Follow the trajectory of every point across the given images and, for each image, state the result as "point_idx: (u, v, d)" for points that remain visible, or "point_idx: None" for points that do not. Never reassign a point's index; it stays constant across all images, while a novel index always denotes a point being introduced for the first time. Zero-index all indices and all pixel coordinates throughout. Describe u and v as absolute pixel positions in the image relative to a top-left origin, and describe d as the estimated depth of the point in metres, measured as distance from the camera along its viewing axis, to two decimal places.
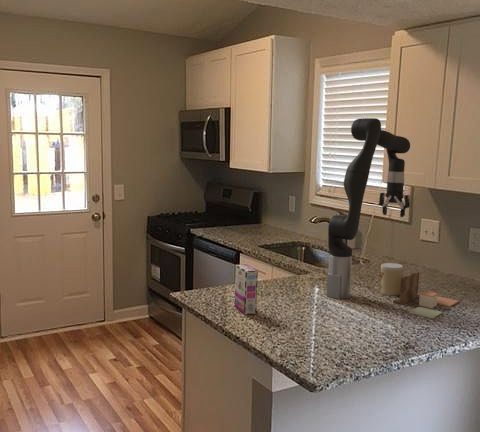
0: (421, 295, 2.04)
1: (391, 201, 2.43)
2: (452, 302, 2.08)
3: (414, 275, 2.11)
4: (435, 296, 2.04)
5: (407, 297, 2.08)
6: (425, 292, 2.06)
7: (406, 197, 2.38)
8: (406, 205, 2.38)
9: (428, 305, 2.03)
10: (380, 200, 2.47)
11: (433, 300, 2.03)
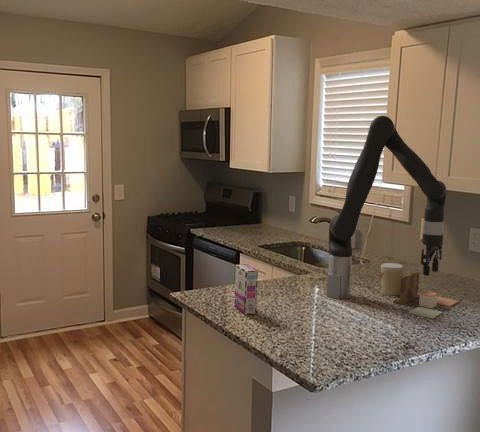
0: (421, 295, 2.04)
1: None
2: (452, 302, 2.08)
3: (414, 275, 2.11)
4: (435, 296, 2.04)
5: (407, 297, 2.08)
6: (425, 292, 2.06)
7: (441, 248, 2.07)
8: (441, 256, 2.07)
9: (428, 305, 2.03)
10: (427, 259, 1.98)
11: (433, 300, 2.03)
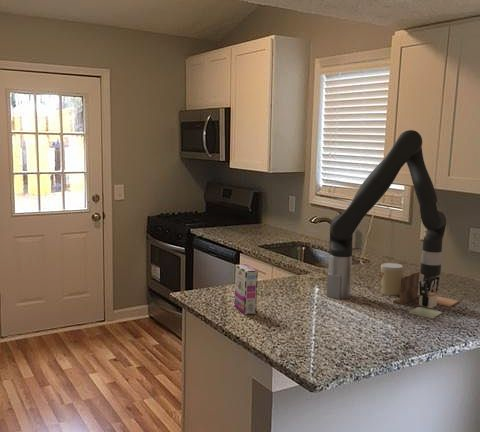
0: None
1: (431, 285, 2.03)
2: (452, 302, 2.08)
3: (414, 275, 2.11)
4: (435, 296, 2.04)
5: (407, 297, 2.08)
6: None
7: None
8: (437, 288, 2.08)
9: (428, 305, 2.03)
10: (426, 291, 2.00)
11: (433, 300, 2.03)
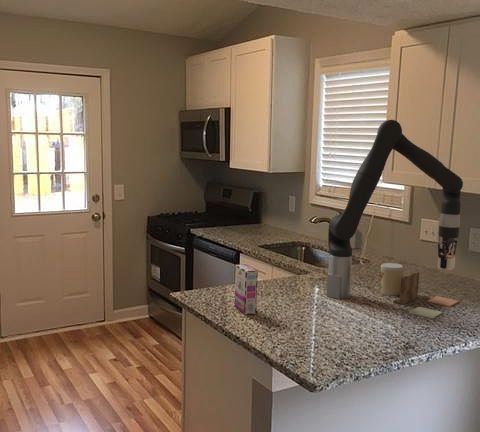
0: None
1: None
2: (452, 302, 2.08)
3: (414, 275, 2.11)
4: (453, 258, 2.06)
5: (407, 297, 2.08)
6: None
7: (456, 243, 2.11)
8: (454, 251, 2.10)
9: (446, 267, 2.06)
10: (444, 253, 2.03)
11: (451, 262, 2.05)
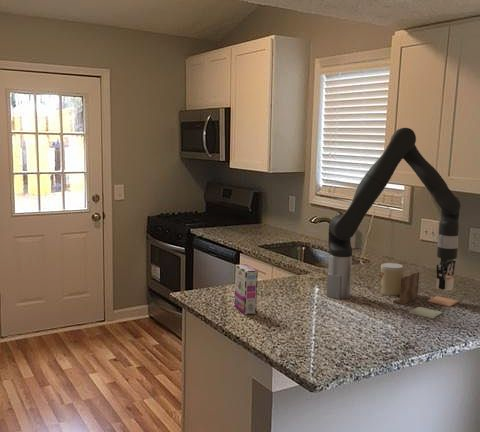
0: None
1: None
2: (452, 302, 2.08)
3: (414, 275, 2.11)
4: (452, 279, 2.08)
5: (407, 297, 2.08)
6: None
7: None
8: (453, 272, 2.12)
9: (445, 288, 2.07)
10: (443, 274, 2.04)
11: (450, 283, 2.07)
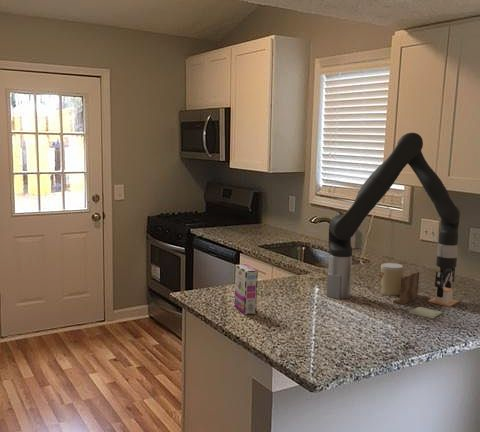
0: None
1: None
2: (452, 302, 2.08)
3: (414, 275, 2.11)
4: (450, 291, 2.08)
5: (407, 297, 2.08)
6: None
7: (454, 270, 2.12)
8: (453, 279, 2.13)
9: (444, 300, 2.07)
10: (441, 282, 2.04)
11: (448, 295, 2.07)
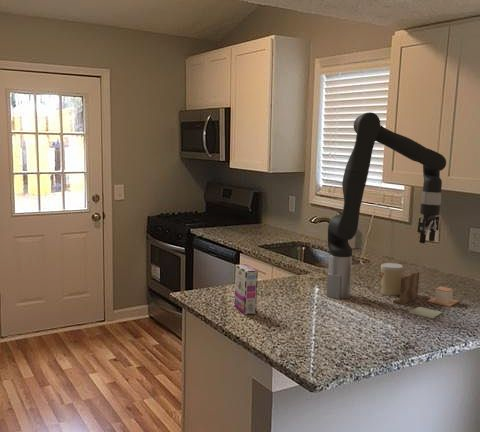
0: (437, 290, 2.09)
1: (430, 226, 2.12)
2: (452, 302, 2.08)
3: (414, 275, 2.11)
4: (450, 291, 2.08)
5: (407, 297, 2.08)
6: (440, 287, 2.11)
7: (438, 219, 2.17)
8: (438, 227, 2.17)
9: (444, 300, 2.07)
10: (424, 227, 2.08)
11: (448, 295, 2.07)
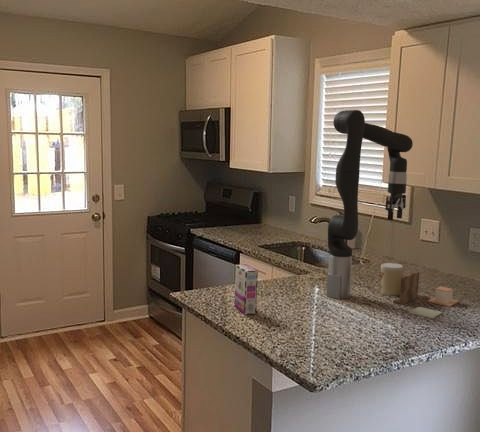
0: (437, 290, 2.09)
1: (397, 204, 2.25)
2: (452, 302, 2.08)
3: (414, 275, 2.11)
4: (450, 291, 2.08)
5: (407, 297, 2.08)
6: (440, 287, 2.11)
7: (405, 197, 2.30)
8: (405, 205, 2.31)
9: (444, 300, 2.07)
10: (391, 205, 2.21)
11: (448, 295, 2.07)
